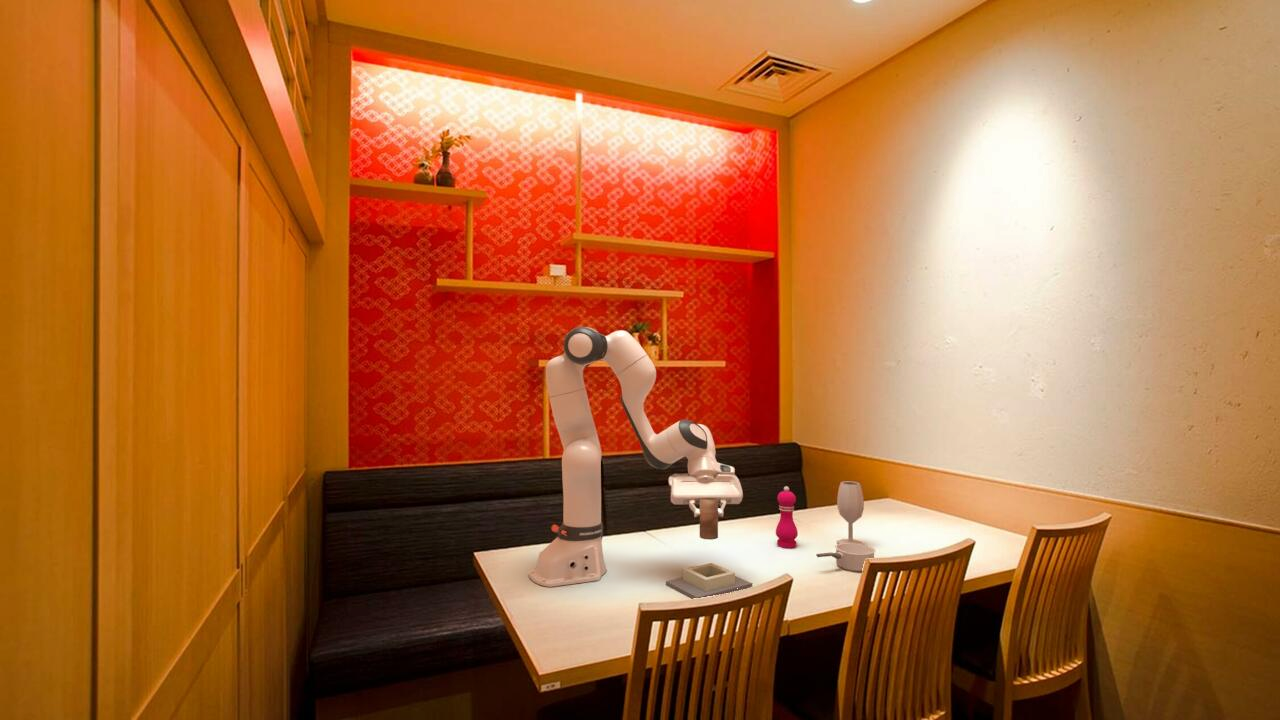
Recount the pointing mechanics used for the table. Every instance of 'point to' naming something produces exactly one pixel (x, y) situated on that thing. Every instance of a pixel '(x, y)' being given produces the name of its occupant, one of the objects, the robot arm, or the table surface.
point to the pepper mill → (786, 520)
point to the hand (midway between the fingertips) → (709, 515)
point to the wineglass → (850, 507)
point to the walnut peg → (708, 519)
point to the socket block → (707, 581)
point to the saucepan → (851, 555)
